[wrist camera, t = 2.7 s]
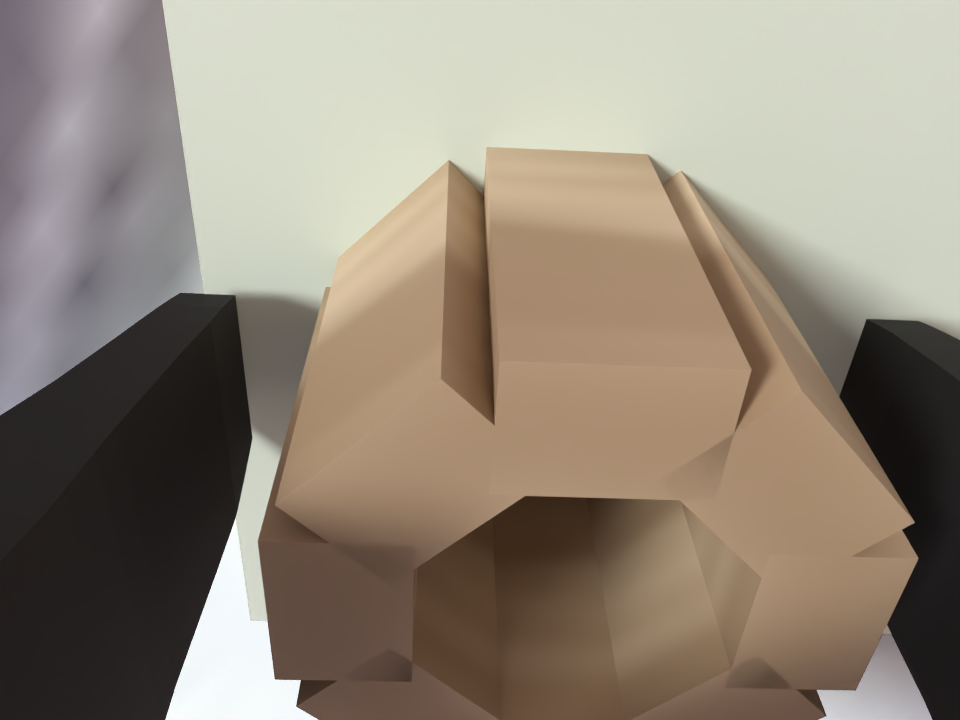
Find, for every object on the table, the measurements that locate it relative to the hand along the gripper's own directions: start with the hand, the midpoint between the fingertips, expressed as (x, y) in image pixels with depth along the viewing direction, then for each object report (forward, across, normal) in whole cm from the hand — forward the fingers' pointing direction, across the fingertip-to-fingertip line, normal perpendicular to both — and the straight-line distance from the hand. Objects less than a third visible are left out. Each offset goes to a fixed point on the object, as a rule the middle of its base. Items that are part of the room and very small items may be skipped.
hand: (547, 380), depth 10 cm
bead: (0, 0, 0) cm, 0 cm away
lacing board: (+2, -4, 0) cm, 5 cm away
